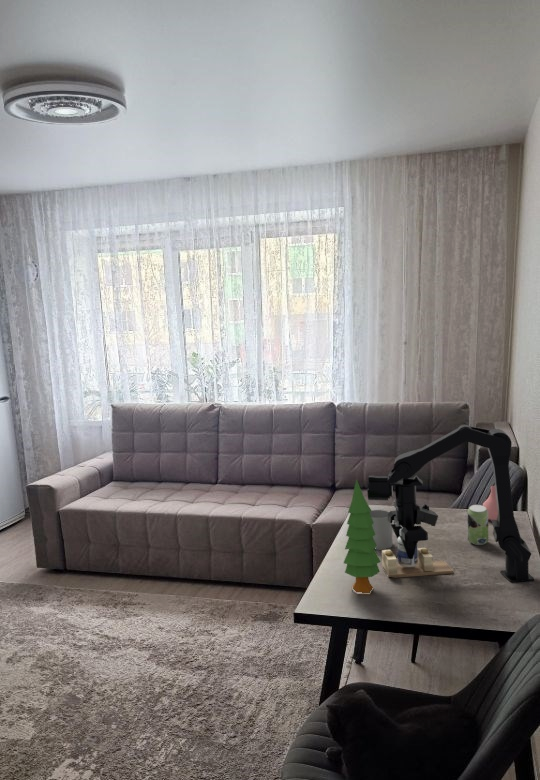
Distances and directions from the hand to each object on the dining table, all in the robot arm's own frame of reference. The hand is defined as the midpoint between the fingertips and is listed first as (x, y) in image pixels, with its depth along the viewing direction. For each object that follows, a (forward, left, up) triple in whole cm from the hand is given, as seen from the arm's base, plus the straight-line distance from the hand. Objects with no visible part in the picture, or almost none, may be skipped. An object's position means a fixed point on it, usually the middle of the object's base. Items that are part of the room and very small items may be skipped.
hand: (407, 554), depth 159 cm
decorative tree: (-9, +15, -5) cm, 18 cm away
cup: (+22, +3, -5) cm, 22 cm away
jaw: (0, -5, -4) cm, 6 cm away
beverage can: (+17, -27, -5) cm, 32 cm away
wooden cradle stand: (0, -2, -5) cm, 5 cm away
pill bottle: (0, 0, -3) cm, 3 cm away
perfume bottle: (+37, -41, -5) cm, 55 cm away
